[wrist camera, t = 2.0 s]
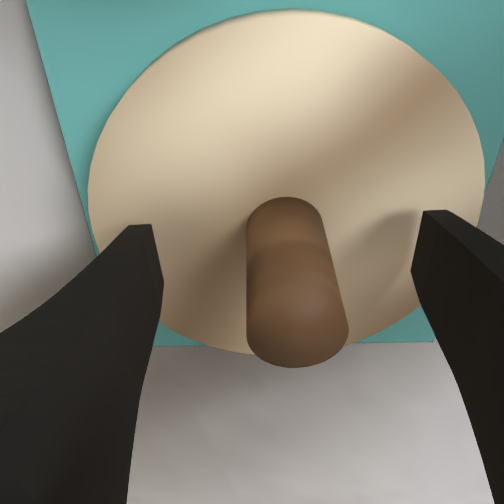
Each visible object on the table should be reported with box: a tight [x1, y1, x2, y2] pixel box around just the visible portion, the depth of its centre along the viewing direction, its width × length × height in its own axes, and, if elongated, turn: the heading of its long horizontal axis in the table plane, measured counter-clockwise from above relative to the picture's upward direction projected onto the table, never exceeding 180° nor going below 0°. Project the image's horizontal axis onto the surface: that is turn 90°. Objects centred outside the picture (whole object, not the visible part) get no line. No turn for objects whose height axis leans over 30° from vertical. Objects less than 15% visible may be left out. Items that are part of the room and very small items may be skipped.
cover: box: [88, 8, 485, 368], centre depth 12 cm, size 11×11×5 cm
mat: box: [26, 0, 504, 347], centre depth 14 cm, size 12×12×1 cm
